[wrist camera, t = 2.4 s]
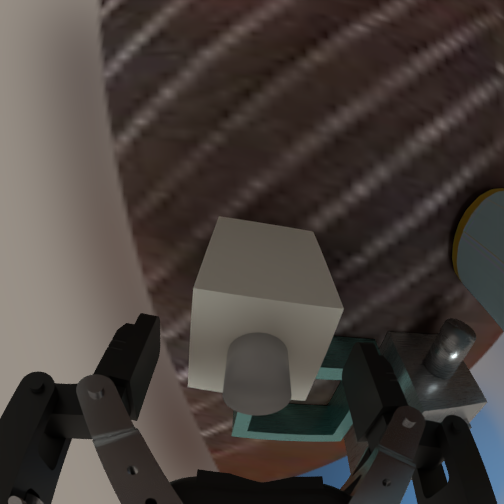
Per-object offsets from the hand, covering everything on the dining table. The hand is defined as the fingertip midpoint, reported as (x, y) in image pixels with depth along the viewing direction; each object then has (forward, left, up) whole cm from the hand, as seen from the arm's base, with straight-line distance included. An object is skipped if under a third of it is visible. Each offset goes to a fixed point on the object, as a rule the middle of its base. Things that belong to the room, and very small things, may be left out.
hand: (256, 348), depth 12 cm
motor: (+6, +8, -6) cm, 12 cm away
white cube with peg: (-1, 0, -6) cm, 6 cm away
